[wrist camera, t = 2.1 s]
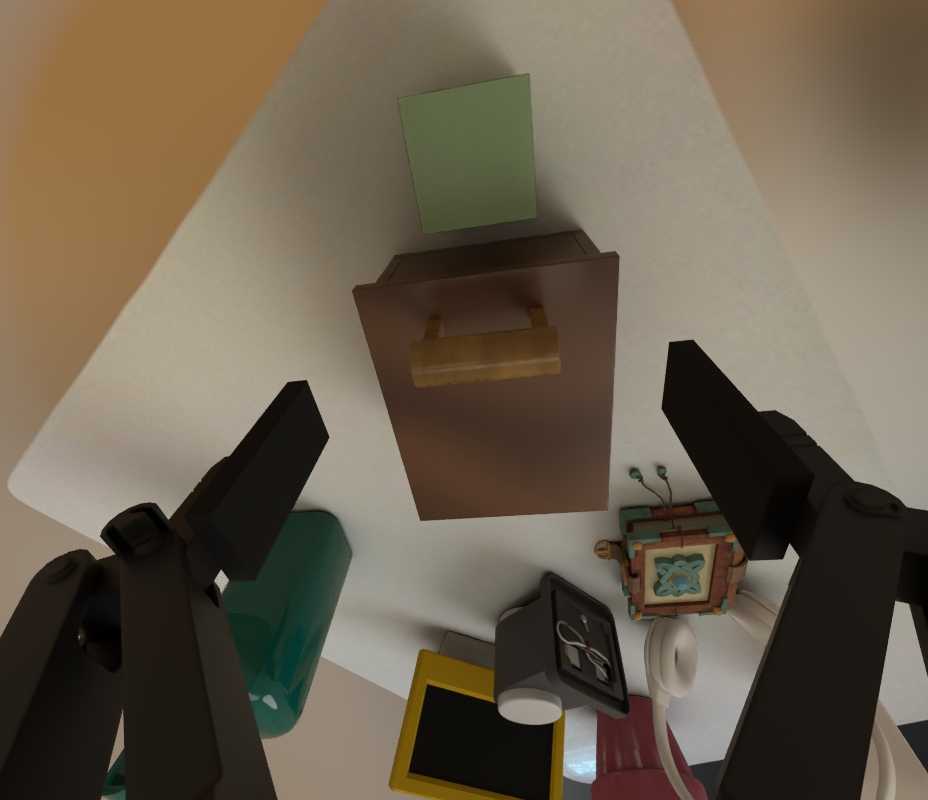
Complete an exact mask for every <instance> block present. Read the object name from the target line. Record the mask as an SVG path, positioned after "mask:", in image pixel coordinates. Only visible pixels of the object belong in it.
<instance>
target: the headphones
mask: <svg viewBox="0 0 928 800" xmlns="http://www.w3.org/2000/svg"><path fill="white" fill-rule="evenodd" d="M779 610H780V607H778V606H777V605H775V604H774V603H772V602H771V601H769V600H767V599H766V598H764V597H762V596H760V595H758V594H755V593H752V592H749V591H745V590H741V591H739V594H737V595H735V598H734V603H733V606H732V607H731V608H730V609H729V610H727V613H728V614H729V615H730V617H731V618H732V619H733V620H734V621H735V622H736V623H737V624H738V625H739V626H740V627H741V628H742V629H744V630H745V631H746V632H747V633H748V634H749V635H750V636H752V637H753V638H754V639H755V640H756V641H758V642H759V643H760V644H761V645H762V646H764V647H765V648H766V645H767V643H768V640H769V637H770V635H771V632H772V629H773V627H774V624H775V621H776V619H777V616H778V613H779ZM644 659H645V668H646V676H647V683H648V688H649V693H650V697H651V699H652V703H653V723H654V733H655V739H656V744H657V748H658V752H659V756H660V759H661V762H662V765H663V767H664V770H665V772H666V774H667V776H668V778H669V780H670V782H671V784H672V786H673V788H674V789H675V791H676V792H677V794H678V795H679V797H680V798H681V800H694V799H693V797H692V796H691V795H690V793H689V792H688V790H687V788H686V787H685V785H684V783H683V781H682V779H681V777H680V775H679V773H678V771H677V768H676V766H675V763H674V760H673V757H672V754H671V750H670V746H669V741H668V736H667V727H666V711H665V709H668V707H669V702H670V695H669V693H670V694H671V695H673V696H676V697H683V696H685V695H686V694H687V693H688V692H689V691H690V689H691V687H692V685H693V683H694V680H695V676H696V671H697V659H698V657H697V645H696V640H695V636H694V633H693V631H692V629H691V627H690V626H689V625H688V623H687V622H685V621H684V620H682V619H673V618H665V617H658V618H656V619H655V620H654V621H653V622H652V624H651V625H650V627H649V630H648V632H647V636H646V640H645V646H644ZM668 692H669V693H668ZM872 737H873V740H874V743H875V747H876V751H877V756H878V763H879V780H878V788H877V793H876V800H894V798H895V792H896V774H895V767H894V761H893V758H892V754H891V751H890V748H889V745H888V742H887V740H886V738H885V735H884V733H883V731H882V729H881V727H880V725H879V723H878V722H877V720H876V718H875V719H874V725H873V731H872Z"/></svg>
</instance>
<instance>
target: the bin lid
mask: <svg viewBox="0 0 928 800" xmlns="http://www.w3.org/2000/svg"><path fill="white" fill-rule="evenodd" d="M618 278H619V255H618V254H617V253H616V252H615V251H613V252H605V253H598V254H590V255H583V256H575V257H567V258H560V259H552V260H545V261H537V262H530V263H522V264H514V265H507V266H499V267H492V268H484V269H477V270H469V271H462V272H454V273H446V274H439V275H431V276H424V277H416V278H409V279H401V280H393V281H386V282H378V283H371V284H363V285H356V286H355V288H354V289H353V290H352V293H353V296H354V299H355V303H356V306H357V309H358V313H359V316H360V319H361V323H362V326H363V330H364V333H365V336H366V340H367V343H368V346H369V350H370V353H371V356H372V360H373V363H374V367H375V370H376V373H377V377H378V380H379V383H380V387H381V390H382V393H383V397H384V400H385V403H386V407H387V410H388V414H389V417H390V420H391V424H392V427H393V430H394V434H395V437H396V440H397V444H398V447H399V450H400V454H401V457H402V461H403V464H404V467H405V471H406V474H407V477H408V481H409V484H410V487H411V491H412V494H413V498H414V501H415V504H416V508H417V511H418V514H419V518H420V521H427V520H445V519H462V518H480V517H498V516H515V515H533V514H551V513H568V512H586V511H604V510H608V498H609V476H610V454H611V432H612V410H613V388H614V366H615V344H616V322H617V300H618Z"/></svg>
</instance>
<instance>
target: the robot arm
mask: <svg viewBox="0 0 928 800" xmlns="http://www.w3.org/2000/svg"><path fill="white" fill-rule="evenodd" d="M662 410H663V412H664V414H665V416H666V417H667V419H668V421H669V423H670V424H671V426H672V428H673V430H674V431H675V433H676V435H677V436H678V438H679V440H680V442H681V443H682V445H683V447H684V449H685V450H686V452H687V454H688V456H689V457H690V459H691V461H692V462H693V464H694V466H695V468H696V469H697V471H698V473H699V475H700V476H701V478H702V480H703V482H704V483H705V485H706V487H707V488H708V490H709V492H710V494H711V495H712V497H713V499H714V501H715V502H716V504H717V506H718V507H719V509H720V511H721V513H722V514H723V516H724V518H725V520H726V521H727V523H728V525H729V527H730V528H731V530H732V532H733V533H734V535H735V537H736V539H737V540H738V542H739V544H740V546H741V547H742V549H743V551H744V553H745V554H746V556H747V558H748V559H749V561H753V560H778V559H783V558H784V555H785V553H786V550H787V548H788V545H789V543H790V544H791V546H792V547H793V549H794V550H795V551H796V553H797V554H798V556H799V557H800V558H799V560H798V562H797V565H796V567H795V570H794V572H793V574H792V577H791V579H790V582H789V584H788V585H789V586H788V589H787V592H786V594H785V597H784V600H783V602H782V605H781V608H780V610H779V613H778V616H777V619H776V621H775V624H774V627H773V629H772V632H771V635H770V637H769V640H768V643H767V645H766V648H765V651H764V654H763V656H762V659H761V662H760V664H759V667H758V670H757V672H756V675H755V678H754V680H753V683H752V686H751V689H750V691H749V694H748V697H747V699H746V702H745V705H744V707H743V710H742V713H741V715H740V718H739V721H738V724H737V726H736V729H735V732H734V734H733V737H732V740H731V742H730V745H729V748H728V750H727V753H726V756H725V759H724V761H723V764H722V767H721V769H720V772H719V775H718V777H717V780H716V783H715V786H714V788H713V791H712V794H711V796H710V799H709V800H860V799H861V794H862V788H863V782H864V776H865V771H866V765H867V759H868V754H869V748H870V742H871V736H872V731H873V725H874V719H875V714H876V708H877V702H878V696H879V691H880V685H881V679H882V673H883V668H884V662H885V656H886V651H887V645H888V639H889V633H890V628H891V622H892V616H893V611H894V605H895V601H899V602H904V603H908V604H909V606H910V609H911V613H912V617H913V621H914V625H915V629H916V633H917V637H918V641H919V644H920V648H921V652H922V656H923V660H924V664H925V668H926V672H927V676H928V511H926V510H920V509H913V508H908V507H906V506H905V505H904V504H903V503H902V502H901V500H900V499H898V498H897V497H895V496H894V495H892V494H891V493H889V492H887V491H885V490H883V489H880V488H878V487H876V486H873V485H870V484H865V483H860V482H855V481H854V480H853V479H852V478H851V477H850V476H849V475H848V474H847V473H846V472H845V471H844V470H843V469H842V468H841V467H840V466H839V465H838V464H837V463H836V462H835V461H834V460H833V459H832V458H831V457H830V456H829V455H828V454H827V453H826V452H825V451H824V450H823V449H822V448H821V447H820V446H817V443H816V442H815V441H814V440H813V439H812V438H811V437H810V436H809V435H808V436H807V433H806V432H805V431H804V430H803V429H802V428H801V427H800V426H799V425H798V424H797V423H796V422H795V421H794V420H792V419H791V418H789V417H787V416H785V415H783V414H781V413H779V412H778V411H776V410H773V411H761V412H758V411H757V410H756V409H755V408H754V407H753V406H752V404H751V403H750V402H749V401H748V400H747V399H746V398H745V397H744V396H743V395H742V393H741V392H740V391H739V390H738V389H737V388H736V387H735V386H734V385H733V383H732V382H731V381H730V380H729V379H728V378H727V377H726V376H725V375H724V373H723V372H722V371H721V370H720V369H719V368H718V367H717V366H716V365H715V363H714V362H713V361H712V360H711V359H710V358H709V357H708V356H707V355H706V353H705V352H704V351H703V350H702V349H701V348H700V347H699V346H698V345H697V343H696V342H695V341H694V340H685V341H676V342H669V349H668V358H667V366H666V375H665V383H664V392H663V401H662ZM328 439H329V435H328V432H327V430H326V427H325V425H324V422H323V420H322V417H321V415H320V412H319V410H318V407H317V405H316V402H315V400H314V397H313V395H312V392H311V390H310V387H309V385H308V382H307V380H303V381H293V382H287V384H286V385H285V386H284V388H283V389H282V390H281V391H280V393H279V394H278V395H277V396H276V398H275V399H274V400H273V402H272V403H271V404H270V405H269V407H268V408H267V409H266V411H265V412H264V413H263V414H262V416H261V417H260V418H259V419H258V421H257V422H256V423H255V425H254V426H253V427H252V428H251V430H250V431H249V432H248V433H247V435H246V436H245V437H244V439H243V440H242V441H241V442H240V444H239V445H238V446H237V447H236V449H235V450H234V451H233V453H232V454H231V455H230V456H228V457H224V458H223V459H222V460H220V461H219V462H218V463H217V464H215V465H214V466H213V467H211V468H210V470H209V471H208V472H207V473H206V475H205V476H204V477H203V478H202V479H201V480H202V481H201V482H199V483H198V484H197V486H196V487H195V488H194V489H193V490H194V491H193V492H191V493H190V494H189V495H188V497H187V498H186V499H185V500H184V502H183V503H182V504H181V505H180V507H179V508H178V509H177V510H176V511H175V513H174V514H173V515H172V516H171V518H170V519H169V520H168V519H167V517H166V516H165V515H164V513H163V512H162V511H161V509H160V508H159V507H158V505H157V504H155V503H151V502H149V503H142V504H138V505H136V506H133V507H130V508H128V509H127V510H125V511H123V512H121V513H119V514H118V515H117V516H115V517H114V518H113V519H112V520H110V521H109V522H108V523H107V525H106V526H105V527H104V528H103V529H102V532H101V535H100V537H101V538H102V539H103V541H104V542H105V543H106V544H107V545H108V546H109V547H110V548H111V549H112V550H113V551H114V553H115V555H112V556H109V557H106V558H102V559H99V560H96V559H95V558H94V557H93V556H92V555H91V554H90V553H89V551H88V550H83V549H79V550H75V551H71V552H68V553H66V554H64V555H61V556H59V557H57V558H55V559H53V561H50V562H49V563H47V564H46V565H45V566H44V567H43V568H42V569H41V570H40V571H39V572H38V573H37V574H36V575H35V576H34V577H33V579H32V580H31V582H30V583H29V585H28V587H27V589H26V591H25V593H24V595H23V596H22V598H21V600H20V602H19V604H18V606H17V607H16V609H15V611H14V613H13V615H12V617H11V619H10V620H9V622H8V624H7V626H6V628H5V630H4V632H3V634H2V635H1V637H0V800H101V797H102V792H103V788H104V784H105V780H106V776H107V772H108V768H109V764H110V759H111V755H112V751H113V747H114V743H115V739H116V735H117V731H118V727H119V723H120V718H121V714H122V710H123V716H124V754H125V791H126V800H277V796H276V792H275V789H274V785H273V781H272V778H271V774H270V770H269V767H268V763H267V760H266V756H265V752H264V749H263V745H262V741H261V738H260V734H259V730H258V727H257V723H256V719H255V716H254V712H253V709H252V705H251V701H250V698H249V694H248V690H247V687H246V683H245V679H244V676H243V672H242V669H241V665H240V661H239V658H238V654H237V650H236V647H235V643H234V639H233V636H232V632H231V628H230V625H229V621H228V618H227V614H226V610H225V607H224V603H223V599H222V596H221V592H220V588H219V587H218V586H217V584H216V583H215V581H214V580H215V578H216V577H217V575H218V573H219V572H220V570H222V571H223V572H224V574H225V575H226V577H227V578H228V579H229V581H230V582H243V581H255V580H256V578H257V576H258V574H259V572H260V571H261V569H262V567H263V565H264V563H265V561H266V559H267V557H268V555H269V553H270V551H271V549H272V547H273V545H274V543H275V542H276V540H277V538H278V536H279V534H280V532H281V530H282V528H283V526H284V524H285V522H286V520H287V518H288V516H289V515H290V513H291V511H292V509H293V507H294V505H295V503H296V501H297V499H298V497H299V495H300V493H301V491H302V489H303V487H304V486H305V484H306V482H307V480H308V478H309V476H310V474H311V472H312V470H313V468H314V466H315V464H316V462H317V460H318V458H319V457H320V455H321V453H322V451H323V449H324V447H325V445H326V443H327V441H328ZM78 636H80V639H79V638H78Z"/></svg>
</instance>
